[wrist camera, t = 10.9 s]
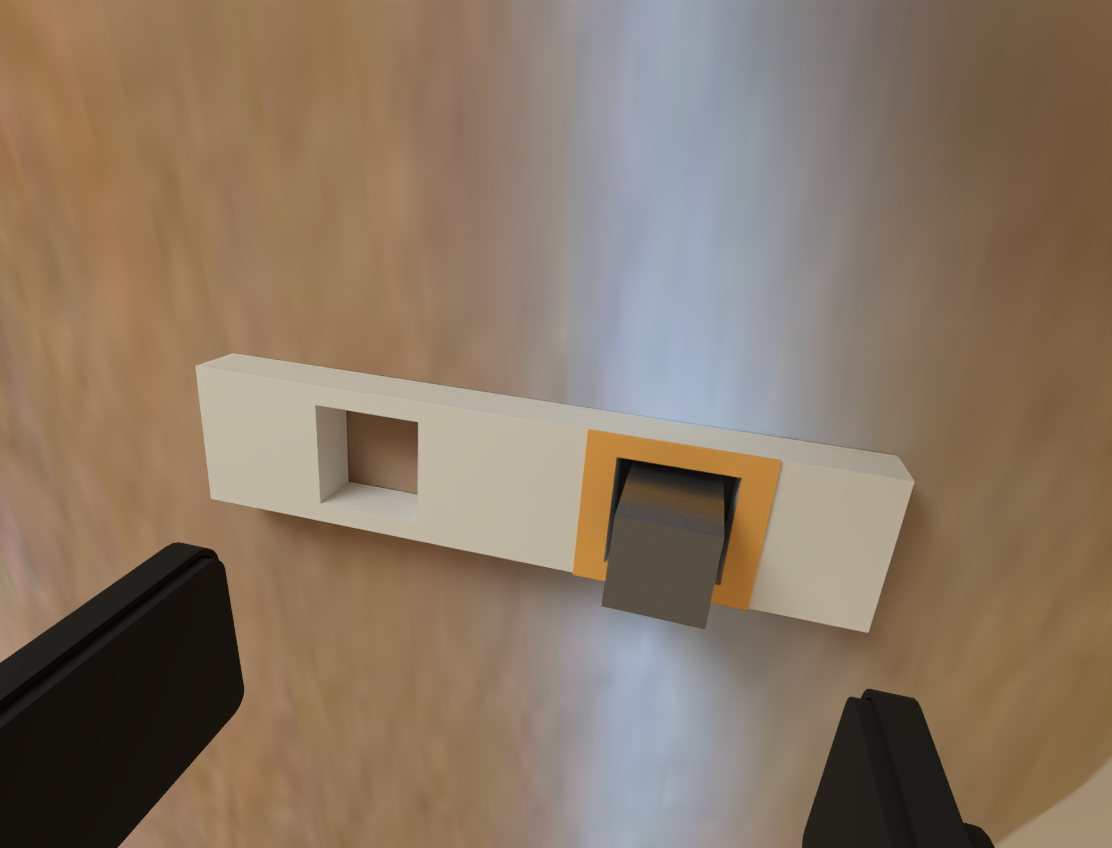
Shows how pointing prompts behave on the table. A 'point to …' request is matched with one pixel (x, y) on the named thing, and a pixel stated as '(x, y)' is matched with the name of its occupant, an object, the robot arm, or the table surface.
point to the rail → (555, 481)
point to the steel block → (666, 543)
